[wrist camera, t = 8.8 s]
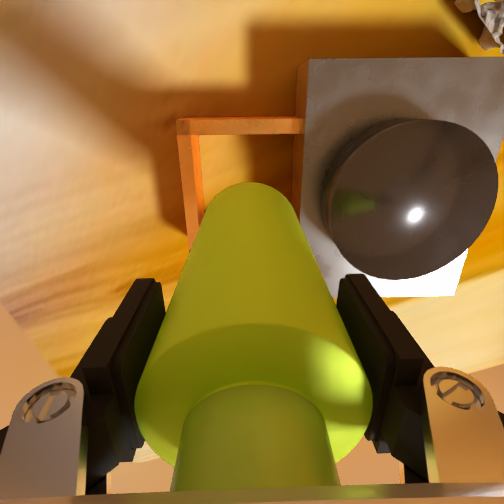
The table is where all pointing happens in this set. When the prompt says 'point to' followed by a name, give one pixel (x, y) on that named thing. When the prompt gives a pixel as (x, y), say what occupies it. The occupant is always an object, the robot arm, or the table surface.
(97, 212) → the table surface
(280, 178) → the table surface
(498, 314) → the table surface
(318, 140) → the grey block with dome
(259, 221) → the soap dispenser
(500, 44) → the egg carton
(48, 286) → the table surface
